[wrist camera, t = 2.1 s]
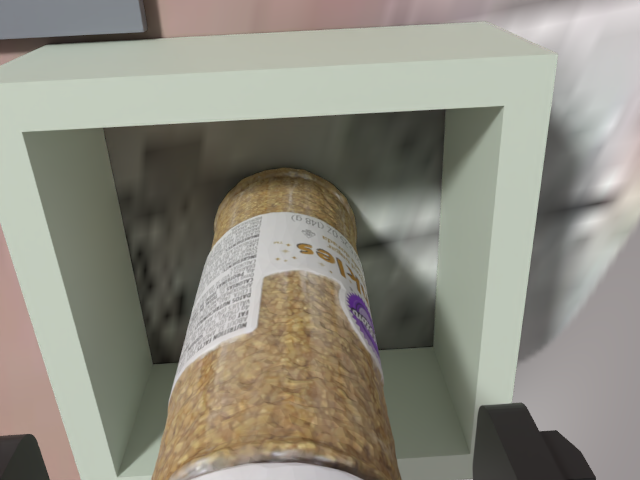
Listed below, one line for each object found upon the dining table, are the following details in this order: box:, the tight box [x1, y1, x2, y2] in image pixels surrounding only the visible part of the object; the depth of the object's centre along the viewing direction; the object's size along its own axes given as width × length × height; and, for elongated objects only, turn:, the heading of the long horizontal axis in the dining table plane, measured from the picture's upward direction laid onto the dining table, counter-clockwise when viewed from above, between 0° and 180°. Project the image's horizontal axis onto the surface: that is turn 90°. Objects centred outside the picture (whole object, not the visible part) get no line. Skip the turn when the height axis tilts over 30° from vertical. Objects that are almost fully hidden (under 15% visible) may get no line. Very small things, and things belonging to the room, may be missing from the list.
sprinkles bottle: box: [151, 168, 402, 480], centre depth 13 cm, size 5×5×13 cm
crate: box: [0, 22, 558, 480], centre depth 17 cm, size 12×12×5 cm
